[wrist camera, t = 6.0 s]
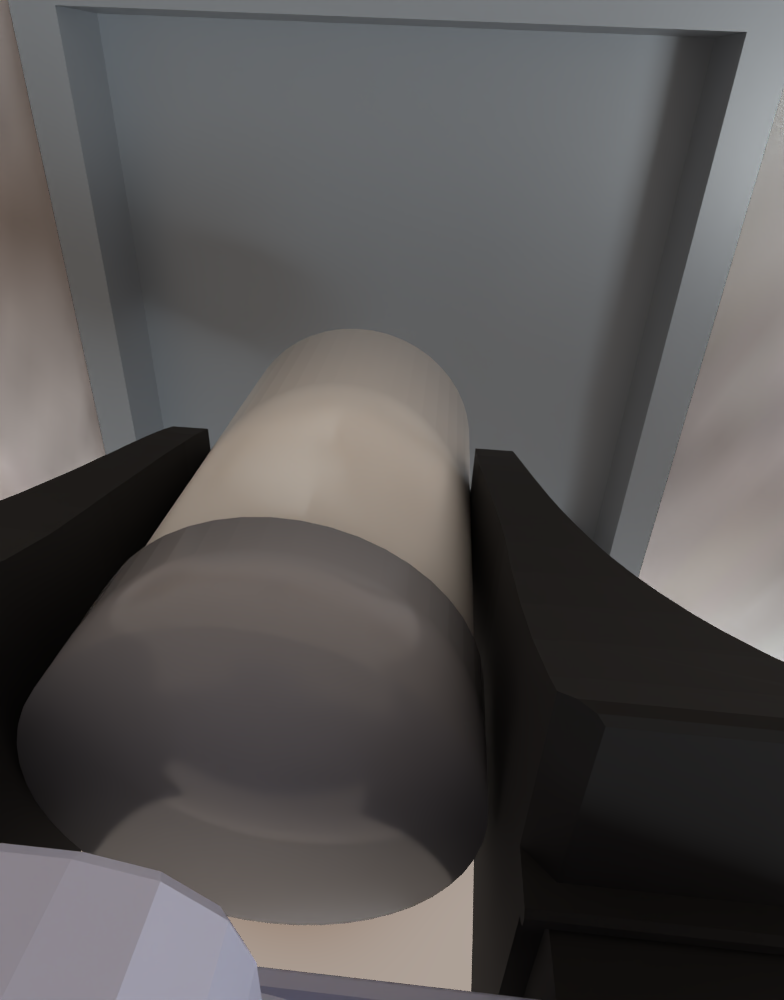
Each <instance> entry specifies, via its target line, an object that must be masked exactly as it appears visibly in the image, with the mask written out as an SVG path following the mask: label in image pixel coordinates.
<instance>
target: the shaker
mask: <svg viewBox="0 0 784 1000" xmlns="http://www.w3.org/2000/svg"><path fill="white" fill-rule="evenodd" d="M17 751H18V758H19V764H20V767H21V770H22V773H23V776H24V779H25V781H26V784H27V786H28V787H29V789H30V791H31V793H32V795H33V797H34V799H35V800H36V802H37V803H38V805H39V806H40V807H41V809H42V810H43V811H44V813H45V814H46V816H47V817H48V818H49V819H50V821H51V822H52V823H53V824H54V825H55V826H56V827H57V828H58V829H59V830H60V831H61V832H62V833H63V834H64V835H65V836H66V837H67V838H68V839H69V840H70V841H71V842H73V843H74V844H75V845H76V846H77V847H78V848H80V849H81V850H82V851H83V852H85V853H89V854H93V855H97V856H101V857H105V858H109V859H113V860H117V861H121V862H125V863H129V864H133V865H137V866H141V867H145V868H149V869H153V870H157V871H161V872H163V873H164V874H166V875H168V876H169V877H171V878H173V879H175V880H176V881H178V882H180V883H181V884H183V885H185V886H187V887H188V888H190V889H192V890H193V891H195V892H197V893H198V894H200V895H202V896H204V897H205V898H207V899H209V900H210V901H212V902H214V903H216V904H217V905H219V906H221V908H222V909H223V911H224V913H225V914H226V916H229V917H234V918H239V919H244V920H250V921H258V922H265V923H274V924H289V925H326V924H339V923H349V922H356V921H362V920H369V919H373V918H377V917H381V916H385V915H389V914H393V913H396V912H399V911H401V910H404V909H407V908H410V907H412V906H415V905H416V904H418V903H421V902H423V901H425V900H427V899H429V898H431V897H433V896H434V895H436V894H437V893H439V892H440V891H442V890H443V889H445V888H446V887H448V886H449V885H450V884H451V883H453V882H454V881H455V880H456V879H457V878H458V877H459V876H460V875H462V874H463V872H464V871H465V870H466V869H467V867H468V866H469V865H470V864H471V862H472V861H473V860H474V859H475V857H476V855H477V853H478V851H479V849H480V847H481V845H482V843H483V840H484V836H485V833H486V829H487V825H488V779H487V752H486V726H485V700H484V676H483V669H482V663H481V657H480V654H479V651H478V648H477V645H476V642H475V639H474V624H473V581H472V537H471V494H470V451H469V426H468V419H467V414H466V411H465V407H464V404H463V401H462V399H461V397H460V395H459V392H458V390H457V389H456V387H455V385H454V384H453V382H452V381H451V379H450V377H449V376H448V375H447V374H446V373H445V371H444V370H443V369H442V368H441V367H440V366H439V365H438V364H437V363H436V362H435V361H434V360H433V359H432V358H431V357H430V356H428V355H427V354H426V353H424V352H423V351H421V350H420V349H418V348H417V347H415V346H413V345H412V344H410V343H408V342H406V341H404V340H402V339H399V338H397V337H394V336H391V335H389V334H385V333H381V332H377V331H373V330H364V329H338V330H332V331H326V332H322V333H319V334H316V335H312V336H310V337H308V338H305V339H303V340H301V341H299V342H297V343H295V344H294V345H292V346H291V347H289V348H288V349H286V350H285V351H284V352H283V353H281V354H280V355H279V356H278V357H277V358H276V359H275V360H274V361H273V362H272V363H271V364H270V366H269V367H268V368H267V369H266V370H265V372H264V373H263V375H262V376H261V378H260V379H259V381H258V382H257V384H256V385H255V387H254V388H253V389H252V391H251V392H250V394H249V395H248V397H247V398H246V400H245V401H244V403H243V404H242V406H241V407H240V408H239V410H238V411H237V413H236V414H235V416H234V417H233V419H232V420H231V422H230V423H229V425H228V426H227V427H226V429H225V430H224V432H223V433H222V435H221V436H220V438H219V439H218V441H217V442H216V444H215V445H214V446H213V448H212V449H211V451H210V452H209V454H208V455H207V457H206V458H205V460H204V461H203V463H202V464H201V465H200V467H199V468H198V470H197V471H196V473H195V474H194V476H193V477H192V479H191V480H190V482H189V483H188V484H187V486H186V487H185V489H184V490H183V492H182V493H181V495H180V496H179V498H178V499H177V501H176V502H175V503H174V505H173V506H172V508H171V509H170V511H169V512H168V514H167V515H166V517H165V518H164V520H163V521H162V522H161V524H160V525H159V527H158V528H157V530H156V531H155V533H154V534H153V536H152V537H151V539H150V540H149V541H148V543H147V544H146V546H145V547H143V548H142V549H141V550H140V551H138V552H137V553H136V554H135V555H133V556H132V557H131V558H130V559H128V560H127V561H126V562H125V563H124V564H123V566H122V567H121V568H120V569H119V570H118V571H117V572H116V574H115V575H114V576H113V577H112V579H111V580H110V581H109V583H108V584H107V586H106V587H105V588H104V590H103V591H102V593H101V594H100V596H99V597H98V598H97V600H96V601H95V603H94V604H93V605H92V607H91V608H90V610H89V611H88V613H87V614H86V615H85V617H84V618H83V620H82V621H81V622H80V624H79V625H78V627H77V628H76V629H75V631H74V632H73V634H72V635H71V637H70V638H69V639H68V641H67V642H66V644H65V645H64V646H63V648H62V649H61V651H60V652H59V653H58V655H57V656H56V658H55V659H54V661H53V662H52V663H51V665H50V666H49V668H48V669H47V670H46V672H45V673H44V675H43V676H42V678H41V679H40V680H39V682H38V683H37V685H36V686H35V687H34V689H33V691H32V692H31V694H30V696H29V698H28V699H27V701H26V703H25V705H24V706H23V709H22V713H21V716H20V719H19V723H18V729H17Z"/></svg>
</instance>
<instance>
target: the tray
mask: <svg viewBox="0 0 784 1000" xmlns="http://www.w3.org/2000/svg"><path fill="white" fill-rule="evenodd" d="M8 4H9V8H10V13H11V18H12V22H13V27H14V32H15V36H16V41H17V45H18V50H19V55H20V59H21V64H22V69H23V73H24V78H25V83H26V87H27V92H28V96H29V101H30V106H31V110H32V115H33V120H34V124H35V129H36V133H37V138H38V143H39V147H40V152H41V157H42V161H43V166H44V171H45V175H46V180H47V184H48V189H49V194H50V198H51V203H52V208H53V212H54V217H55V221H56V226H57V231H58V235H59V240H60V245H61V249H62V254H63V258H64V263H65V268H66V272H67V277H68V282H69V286H70V291H71V296H72V300H73V305H74V309H75V314H76V319H77V323H78V328H79V333H80V337H81V342H82V346H83V351H84V356H85V360H86V365H87V370H88V374H89V379H90V384H91V388H92V393H93V397H94V402H95V407H96V411H97V416H98V421H99V425H100V430H101V434H102V439H103V444H104V448H105V453H106V455H107V454H109V453H111V452H113V451H115V450H117V449H120V448H122V447H124V446H126V445H128V444H130V443H132V442H134V441H137V440H139V439H141V438H143V437H145V436H148V435H150V434H152V433H155V432H157V431H160V430H162V429H166V428H169V427H172V426H176V427H190V428H204V429H208V432H209V441H210V449H212V448H213V446H214V445H215V444H216V442H217V441H218V439H219V438H220V436H221V435H222V433H223V432H224V430H225V429H226V427H227V426H228V425H229V423H230V422H231V420H232V419H233V417H234V416H235V414H236V413H237V411H238V410H239V408H240V407H241V406H242V404H243V403H244V401H245V400H246V398H247V397H248V395H249V394H250V392H251V391H252V389H253V388H254V387H255V385H256V384H257V382H258V381H259V379H260V378H261V376H262V375H263V373H264V372H265V370H266V369H267V368H268V367H269V366H270V364H271V363H272V362H273V361H274V360H275V359H276V358H277V357H278V356H279V355H280V354H281V353H283V352H284V351H285V350H286V349H288V348H289V347H291V346H292V345H294V344H295V343H297V342H299V341H301V340H303V339H305V338H308V337H310V336H312V335H316V334H319V333H322V332H326V331H332V330H338V329H364V330H373V331H377V332H381V333H385V334H389V335H391V336H394V337H397V338H399V339H402V340H404V341H406V342H408V343H410V344H412V345H413V346H415V347H417V348H418V349H420V350H421V351H423V352H424V353H426V354H427V355H428V356H430V357H431V358H432V359H433V360H434V361H435V362H436V363H437V364H438V365H439V366H440V367H441V368H442V369H443V370H444V371H445V373H446V374H447V375H448V376H449V377H450V379H451V381H452V382H453V384H454V385H455V387H456V389H457V390H458V392H459V395H460V397H461V399H462V401H463V404H464V407H465V411H466V414H467V419H468V426H469V451H470V491H471V483H472V474H473V466H474V457H475V449H476V448H477V449H491V450H505V451H513V452H514V453H515V454H516V456H517V457H518V458H519V459H520V460H521V462H522V463H523V464H524V465H525V467H526V468H527V469H528V471H529V472H530V473H531V474H532V476H533V477H534V478H535V479H536V481H537V482H538V483H539V484H540V486H541V487H542V488H543V489H544V491H545V492H546V493H547V494H548V495H549V496H550V498H551V499H552V500H553V501H554V502H555V503H556V504H557V505H558V507H559V508H560V509H561V510H562V511H563V512H564V513H565V514H566V515H567V516H568V517H569V518H570V519H571V520H572V521H573V522H574V523H575V524H576V525H577V526H578V527H579V528H580V529H581V530H582V531H583V532H584V533H585V534H586V535H587V536H588V537H589V538H590V539H591V540H592V541H593V542H595V543H596V544H597V545H598V546H599V547H600V548H601V549H602V550H604V551H605V552H606V553H607V554H608V555H609V556H611V557H612V558H613V559H615V560H616V561H617V562H618V563H620V564H621V565H622V566H624V567H625V568H626V569H627V570H629V571H630V572H631V573H632V574H634V575H635V576H636V577H638V576H639V573H640V569H641V566H642V563H643V559H644V556H645V553H646V549H647V546H648V543H649V539H650V536H651V532H652V529H653V526H654V522H655V519H656V516H657V512H658V509H659V505H660V502H661V499H662V495H663V492H664V489H665V485H666V482H667V479H668V475H669V472H670V468H671V465H672V462H673V458H674V455H675V452H676V448H677V445H678V441H679V438H680V435H681V431H682V428H683V425H684V421H685V418H686V414H687V411H688V408H689V404H690V401H691V398H692V394H693V391H694V388H695V384H696V381H697V377H698V374H699V371H700V367H701V364H702V361H703V357H704V354H705V350H706V347H707V344H708V340H709V337H710V334H711V330H712V327H713V324H714V320H715V317H716V313H717V310H718V307H719V303H720V300H721V297H722V293H723V290H724V286H725V283H726V280H727V276H728V273H729V270H730V266H731V263H732V260H733V256H734V253H735V249H736V246H737V243H738V239H739V236H740V233H741V229H742V226H743V222H744V219H745V216H746V212H747V209H748V206H749V202H750V199H751V196H752V192H753V189H754V185H755V182H756V179H757V175H758V172H759V169H760V165H761V162H762V158H763V155H764V152H765V148H766V145H767V142H768V138H769V135H770V132H771V128H772V125H773V121H774V118H775V115H776V111H777V108H778V105H779V101H780V98H781V94H782V91H783V88H784V0H8Z"/></svg>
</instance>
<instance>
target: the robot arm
mask: <svg viewBox="0 0 784 1000" xmlns="http://www.w3.org/2000/svg"><path fill="white" fill-rule="evenodd" d="M210 451H211V449H210V441H209V432H208V429H204V428H190V427H176V426H172V427H169V428H166V429H162V430H160V431H157V432H155V433H152V434H150V435H148V436H145V437H143V438H141V439H139V440H137V441H134V442H132V443H130V444H128V445H126V446H124V447H122V448H120V449H117V450H115V451H113V452H111V453H109V454H107V455H105V456H103V457H100V458H98V459H96V460H94V461H92V462H90V463H88V464H86V465H84V466H81V467H79V468H77V469H75V470H73V471H70V472H68V473H66V474H63V475H61V476H59V477H56V478H54V479H52V480H49V481H47V482H45V483H42V484H40V485H38V486H35V487H33V488H31V489H28V490H26V491H24V492H21V493H19V494H16V495H14V496H11V497H8V498H6V499H3V500H1V501H0V1000H784V662H783V661H781V660H778V659H776V658H774V657H772V656H770V655H768V654H766V653H764V652H762V651H760V650H758V649H756V648H754V647H752V646H750V645H748V644H746V643H744V642H743V641H741V640H739V639H737V638H735V637H733V636H731V635H729V634H727V633H725V632H723V631H721V630H720V629H718V628H716V627H714V626H713V625H711V624H709V623H707V622H706V621H704V620H702V619H700V618H699V617H697V616H695V615H694V614H692V613H690V612H689V611H687V610H686V609H684V608H682V607H681V606H679V605H678V604H676V603H675V602H673V601H671V600H670V599H668V598H667V597H665V596H664V595H662V594H660V593H659V592H657V591H656V590H655V589H653V588H652V587H650V586H649V585H647V584H646V583H645V582H643V581H642V580H640V579H639V578H638V577H636V576H635V575H634V574H632V573H631V572H630V571H629V570H627V569H626V568H625V567H624V566H622V565H621V564H620V563H618V562H617V561H616V560H615V559H613V558H612V557H611V556H609V555H608V554H607V553H606V552H605V551H604V550H602V549H601V548H600V547H599V546H598V545H597V544H596V543H595V542H593V541H592V540H591V539H590V538H589V537H588V536H587V535H586V534H585V533H584V532H583V531H582V530H581V529H580V528H579V527H578V526H577V525H576V524H575V523H574V522H573V521H572V520H571V519H570V518H569V517H568V516H567V515H566V514H565V513H564V512H563V511H562V510H561V509H560V508H559V507H558V505H557V504H556V503H555V502H554V501H553V500H552V499H551V498H550V496H549V495H548V494H547V493H546V492H545V491H544V489H543V488H542V487H541V486H540V484H539V483H538V482H537V481H536V479H535V478H534V477H533V476H532V474H531V473H530V472H529V471H528V469H527V468H526V467H525V465H524V464H523V463H522V462H521V460H520V459H519V458H518V457H517V456H516V454H515V453H514V452H513V451H505V450H491V449H477V448H476V449H475V457H474V466H473V474H472V483H471V491H470V494H471V537H472V581H473V624H474V639H475V642H476V645H477V648H478V651H479V654H480V657H481V663H482V669H483V676H484V700H485V726H486V752H487V779H488V825H487V829H486V833H485V836H484V840H483V843H482V845H481V847H480V849H479V851H478V853H477V855H476V857H475V859H474V893H473V947H472V948H473V949H472V988H471V992H470V991H461V990H453V989H444V988H435V987H426V986H418V985H410V984H401V983H392V982H384V981H376V980H367V979H358V978H350V977H341V976H333V975H324V974H316V973H307V972H298V971H290V970H282V969H273V968H264V967H257V963H256V962H255V960H254V958H253V956H252V955H251V953H250V951H249V950H248V948H247V946H246V945H245V943H244V942H243V940H242V939H241V937H240V935H239V934H238V932H237V931H236V929H235V928H234V927H233V925H232V923H231V922H230V920H229V919H228V917H227V916H226V914H225V913H224V911H223V909H222V908H221V906H219V905H217V904H216V903H214V902H212V901H210V900H209V899H207V898H205V897H204V896H202V895H200V894H198V893H197V892H195V891H193V890H192V889H190V888H188V887H187V886H185V885H183V884H181V883H180V882H178V881H176V880H175V879H173V878H171V877H169V876H168V875H166V874H164V873H163V872H161V871H157V870H153V869H149V868H145V867H141V866H137V865H133V864H129V863H125V862H121V861H117V860H113V859H109V858H105V857H101V856H97V855H93V854H89V853H85V852H81V849H80V848H78V847H77V846H76V845H75V844H74V843H73V842H71V841H70V840H69V839H68V838H67V837H66V836H65V835H64V834H63V833H62V832H61V831H60V830H59V829H58V828H57V827H56V826H55V825H54V824H53V823H52V822H51V821H50V819H49V818H48V817H47V816H46V814H45V813H44V811H43V810H42V809H41V807H40V806H39V805H38V803H37V802H36V800H35V799H34V797H33V795H32V793H31V791H30V789H29V787H28V786H27V784H26V781H25V779H24V776H23V773H22V770H21V767H20V764H19V758H18V751H17V729H18V723H19V719H20V716H21V713H22V709H23V706H24V705H25V703H26V701H27V699H28V698H29V696H30V694H31V692H32V691H33V689H34V687H35V686H36V685H37V683H38V682H39V680H40V679H41V678H42V676H43V675H44V673H45V672H46V670H47V669H48V668H49V666H50V665H51V663H52V662H53V661H54V659H55V658H56V656H57V655H58V653H59V652H60V651H61V649H62V648H63V646H64V645H65V644H66V642H67V641H68V639H69V638H70V637H71V635H72V634H73V632H74V631H75V629H76V628H77V627H78V625H79V624H80V622H81V621H82V620H83V618H84V617H85V615H86V614H87V613H88V611H89V610H90V608H91V607H92V605H93V604H94V603H95V601H96V600H97V598H98V597H99V596H100V594H101V593H102V591H103V590H104V588H105V587H106V586H107V584H108V583H109V581H110V580H111V579H112V577H113V576H114V575H115V574H116V572H117V571H118V570H119V569H120V568H121V567H122V566H123V564H124V563H125V562H126V561H127V560H128V559H130V558H131V557H132V556H133V555H135V554H136V553H137V552H138V551H140V550H141V549H142V548H143V547H145V546H146V544H147V543H148V541H149V540H150V539H151V537H152V536H153V534H154V533H155V531H156V530H157V528H158V527H159V525H160V524H161V522H162V521H163V520H164V518H165V517H166V515H167V514H168V512H169V511H170V509H171V508H172V506H173V505H174V503H175V502H176V501H177V499H178V498H179V496H180V495H181V493H182V492H183V490H184V489H185V487H186V486H187V484H188V483H189V482H190V480H191V479H192V477H193V476H194V474H195V473H196V471H197V470H198V468H199V467H200V465H201V464H202V463H203V461H204V460H205V458H206V457H207V455H208V454H209V452H210Z"/></svg>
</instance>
